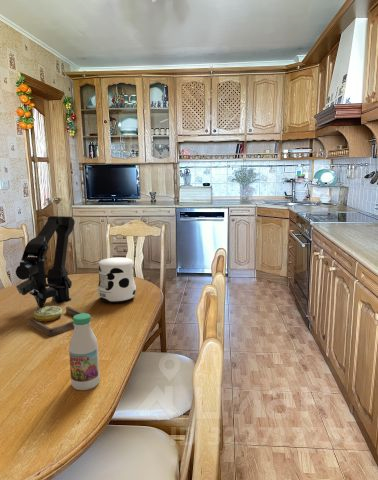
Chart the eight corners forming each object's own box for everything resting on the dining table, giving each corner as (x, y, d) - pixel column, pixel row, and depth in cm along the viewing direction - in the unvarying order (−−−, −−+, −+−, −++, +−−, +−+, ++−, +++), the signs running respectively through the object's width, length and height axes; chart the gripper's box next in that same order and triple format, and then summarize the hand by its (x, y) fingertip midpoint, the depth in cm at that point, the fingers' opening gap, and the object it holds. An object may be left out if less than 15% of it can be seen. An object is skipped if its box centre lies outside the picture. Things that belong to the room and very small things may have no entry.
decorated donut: (67, 316, 149) (67, 307, 148) (43, 325, 140) (43, 316, 140) (53, 310, 155) (52, 302, 154) (29, 318, 147) (28, 309, 146)
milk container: (138, 292, 178) (136, 256, 175) (133, 305, 161) (132, 266, 158) (102, 293, 177) (100, 257, 174) (94, 305, 160) (92, 266, 157)
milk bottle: (74, 376, 105) (70, 311, 102) (101, 374, 106) (98, 310, 102) (68, 392, 98) (63, 322, 94) (97, 390, 98) (93, 321, 95)
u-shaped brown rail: (68, 311, 154) (68, 306, 153) (90, 321, 143) (90, 315, 143) (29, 324, 141) (28, 318, 140) (50, 336, 131) (49, 330, 130)
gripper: (8, 272, 148) (11, 308, 151) (29, 281, 136) (32, 320, 139) (34, 267, 156) (37, 301, 159) (56, 275, 144) (59, 312, 147)
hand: (41, 308), depth 151 cm, fingers closed
